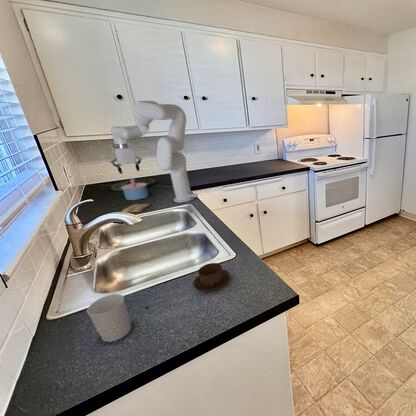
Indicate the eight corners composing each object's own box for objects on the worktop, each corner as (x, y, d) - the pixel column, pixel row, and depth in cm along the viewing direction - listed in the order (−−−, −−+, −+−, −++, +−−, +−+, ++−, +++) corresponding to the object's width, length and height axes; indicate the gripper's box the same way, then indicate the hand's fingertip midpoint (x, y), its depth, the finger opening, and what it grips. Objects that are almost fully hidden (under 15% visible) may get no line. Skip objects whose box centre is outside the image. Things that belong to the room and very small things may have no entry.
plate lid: (148, 183, 193) (146, 175, 191) (145, 188, 181) (143, 180, 179) (124, 186, 188) (121, 178, 185) (119, 191, 175) (116, 183, 173)
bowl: (150, 192, 195) (147, 182, 192) (147, 198, 183) (144, 187, 181) (127, 195, 190) (124, 185, 187) (123, 201, 178) (120, 190, 175)
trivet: (150, 205, 171) (150, 203, 170) (141, 211, 160) (140, 210, 160) (132, 205, 170) (132, 204, 170) (121, 212, 160) (121, 210, 159)
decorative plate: (119, 180, 222) (160, 177, 230) (120, 182, 223) (160, 179, 230) (102, 191, 195) (148, 187, 203) (103, 193, 196) (149, 189, 203)
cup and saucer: (236, 283, 95) (234, 268, 92) (202, 299, 87) (198, 284, 85) (221, 269, 103) (219, 255, 100) (189, 283, 95) (185, 268, 93)
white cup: (91, 342, 72) (78, 313, 68) (117, 320, 79) (106, 292, 75) (117, 345, 71) (105, 316, 67) (140, 323, 78) (131, 295, 74)
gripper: (107, 148, 165) (115, 175, 172) (139, 145, 178) (146, 170, 184) (104, 147, 170) (112, 173, 176) (136, 144, 182) (142, 168, 189)
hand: (129, 172), depth 180 cm, fingers open, 9 cm apart
